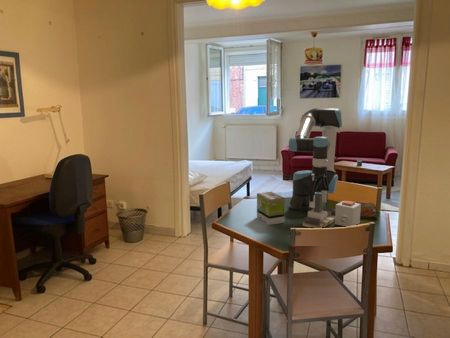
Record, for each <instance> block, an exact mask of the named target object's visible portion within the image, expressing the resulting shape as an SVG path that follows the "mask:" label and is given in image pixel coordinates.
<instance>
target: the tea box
mask: <svg viewBox="0 0 450 338" xmlns="http://www.w3.org/2000/svg"><path fill="white" fill-rule="evenodd" d="M285 199H286V198H285V197H283V196H282V195H279V194H277V193H276V192H273V191H266V192H257V193H256V218H258V219H259V220H261V221H263V222H264V223H266V224H267V225H269V226H272V225H278V224H283V223H285V207H286V206H285V205H286V203H285V202H286V201H285Z"/></svg>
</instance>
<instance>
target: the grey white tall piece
mask: <svg viewBox="0 0 450 338" xmlns="http://www.w3.org/2000/svg"><path fill="white" fill-rule="evenodd" d="M314 196H315V208H314V209H312V210H307V217H311V218H316V219H320V222H321V221H322V220H324V218H326V217H327V211H323V207H322V205H323V202H322V193H316V192H315V195H314Z"/></svg>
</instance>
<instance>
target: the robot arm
mask: <svg viewBox="0 0 450 338" xmlns="http://www.w3.org/2000/svg"><path fill="white" fill-rule="evenodd" d="M342 120H343V119H342V110H341V109H340V108H334V107H331V108H330V107H328V108H327V107H325V108H323V107H320V108H319V107H316V108H312V109H311V108H310V109H309V110H307V111H306V112H304V114H302V116H301V117H300V119H299V123H300V124H299V127H298V130H297V132H296V134H295V137H291V138H289V140H288V150H289V152H290V151H291V152H303V153H304V152H306V153H312V168H311V169H312V170H308V169H307V170H298V171H296V172H294V173H293V176H292V196H291V198H290V201H289V204H288V205H289V206H288V207H289V208H290V209H291V210H295V211H303V212H304V211H305V212H306V211H307V212H308V211H311V210H313V209H314V208H315V193H321V194H322V203H327V195H328V194H334V193H335V192H336V190H337V185H338V180H339V176H338V174H337V171H335V169H334V167H335V158H336V157H335V155H336V143H337V132H339V131H340V128H342V127H343V124H342V123H343V121H342ZM314 127H317V128H318V127H319V129H320V131H321V136H315V137H313V138H310V135H311V133H312V130H313V129H314Z"/></svg>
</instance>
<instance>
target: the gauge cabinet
mask: <svg viewBox="0 0 450 338" xmlns="http://www.w3.org/2000/svg"><path fill="white" fill-rule="evenodd" d="M344 201H345V200H342V201H340V202H338V203H336V204H335V209H334V210H335V221H334V224H335V225H336V226H337V225H338V226H341V227H342V226H343V227H346V226H350V225H356V224H358V225H359V224H360V222H361V216H360V211H361V204H358V203H355V205H353V206H347V205H342V202H344ZM356 226H357V225H356Z"/></svg>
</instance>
